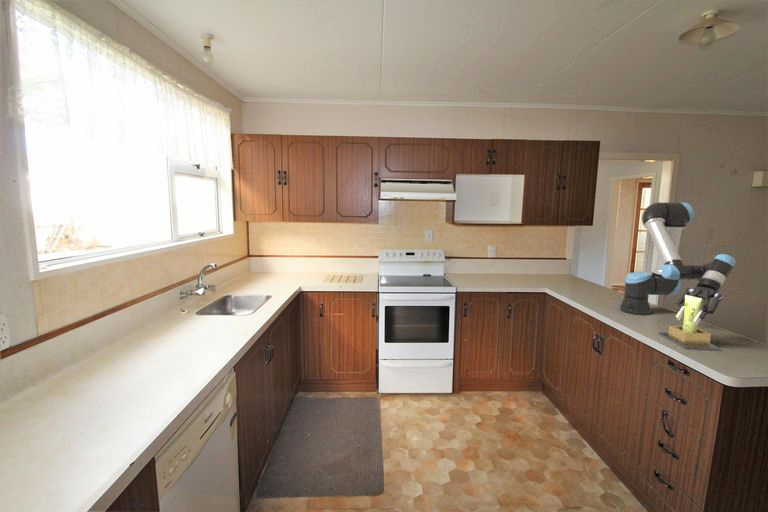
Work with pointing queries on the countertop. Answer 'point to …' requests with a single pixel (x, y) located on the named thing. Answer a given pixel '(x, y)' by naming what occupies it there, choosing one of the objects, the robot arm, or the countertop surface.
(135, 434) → the countertop surface
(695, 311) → the tube
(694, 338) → the collar plate
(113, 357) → the countertop surface
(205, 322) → the countertop surface
